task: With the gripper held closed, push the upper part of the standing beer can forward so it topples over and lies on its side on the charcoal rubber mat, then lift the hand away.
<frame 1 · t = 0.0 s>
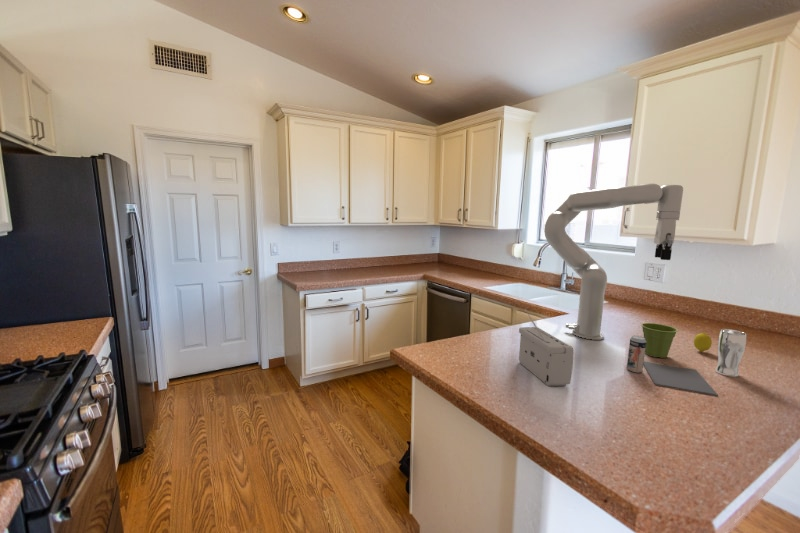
hand: (662, 258, 148), 37 cm above the table, tool pointing down, fingers open, 9 cm apart
beer can: (634, 371, 126), on the table
rubber mat: (676, 377, 121), on the table
stereo radio cassette player: (541, 374, 122), on the table
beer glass: (726, 373, 126), on the table
lemon: (701, 352, 147), on the table
plant pot: (655, 355, 142), on the table
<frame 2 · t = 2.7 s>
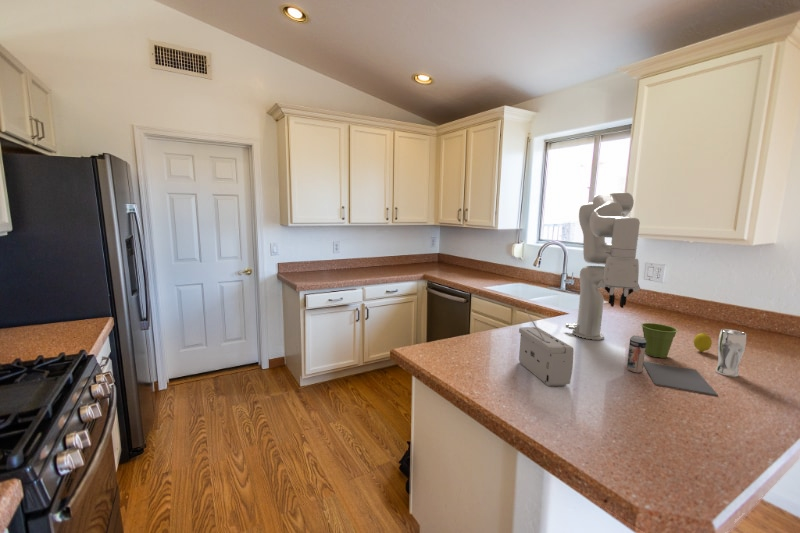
hand: (616, 305, 126), 22 cm above the table, tool pointing down, fingers closed
nothing on the table moved.
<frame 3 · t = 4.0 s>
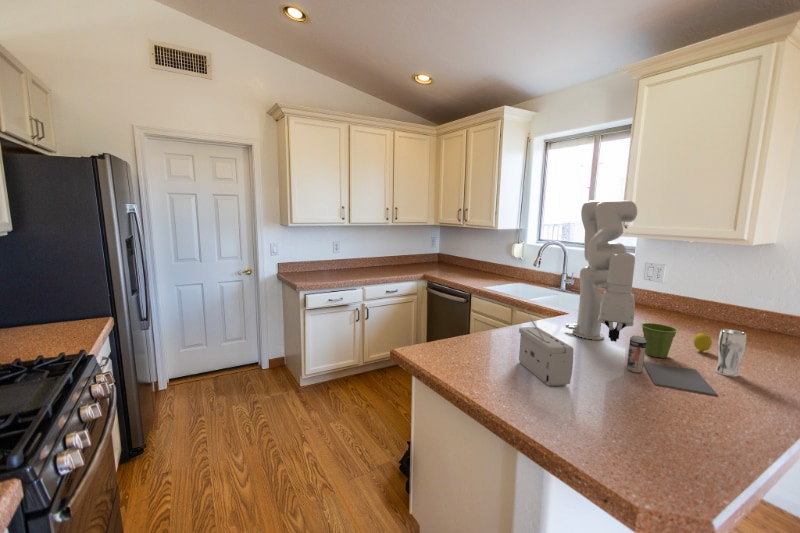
hand: (613, 340, 127), 10 cm above the table, tool pointing down, fingers closed
nothing on the table moved.
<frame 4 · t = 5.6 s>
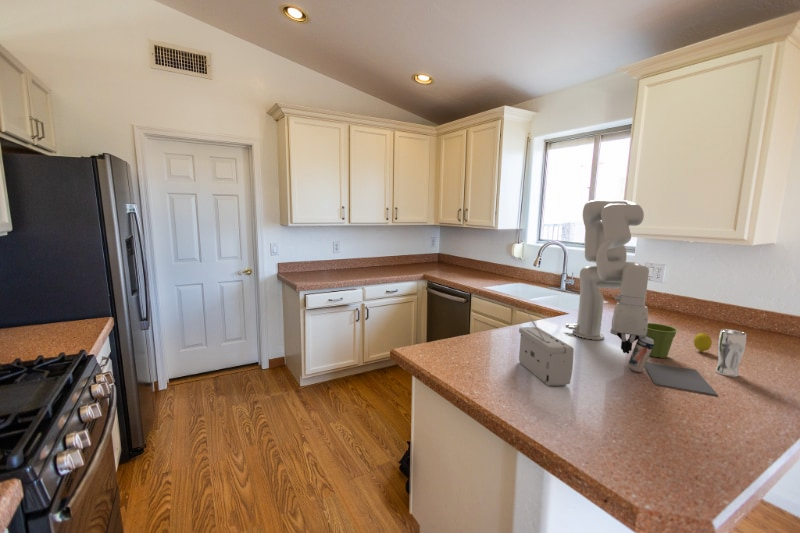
hand: (625, 351, 127), 6 cm above the table, tool pointing down, fingers closed
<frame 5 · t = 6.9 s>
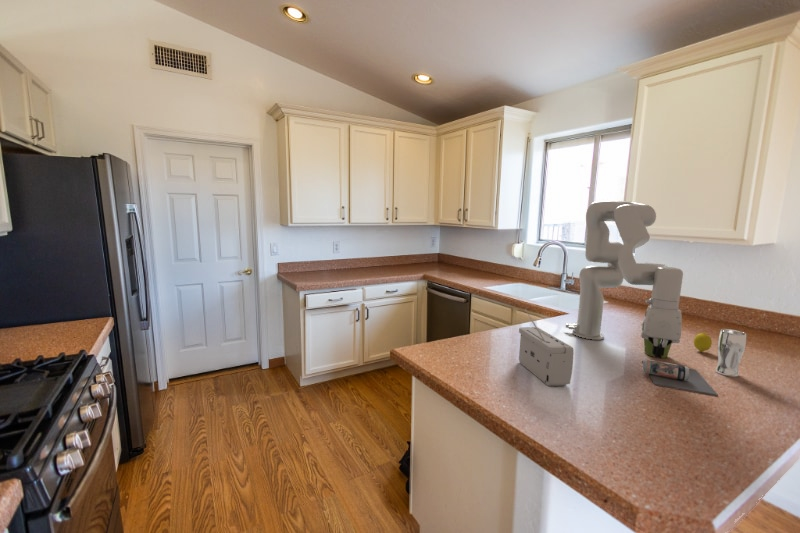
hand: (657, 356, 123), 6 cm above the table, tool pointing down, fingers closed
beer can: (642, 365, 123), point 3 cm above the table, touching rubber mat
everything else where it was.
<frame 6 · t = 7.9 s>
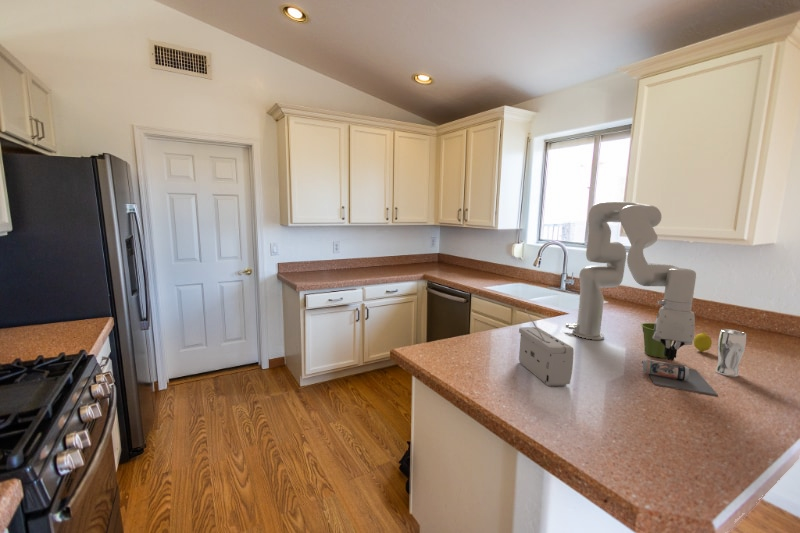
hand: (669, 358, 122), 6 cm above the table, tool pointing down, fingers closed
nothing on the table moved.
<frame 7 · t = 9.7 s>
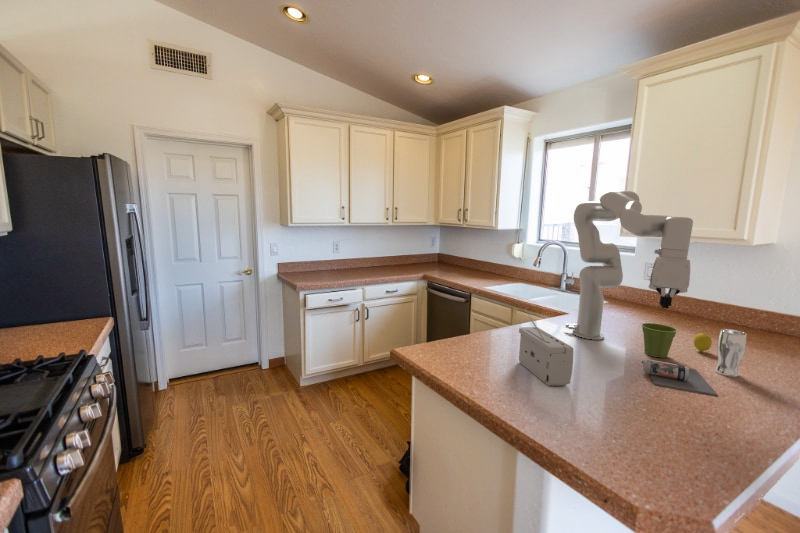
hand: (664, 307, 124), 23 cm above the table, tool pointing down, fingers closed
nothing on the table moved.
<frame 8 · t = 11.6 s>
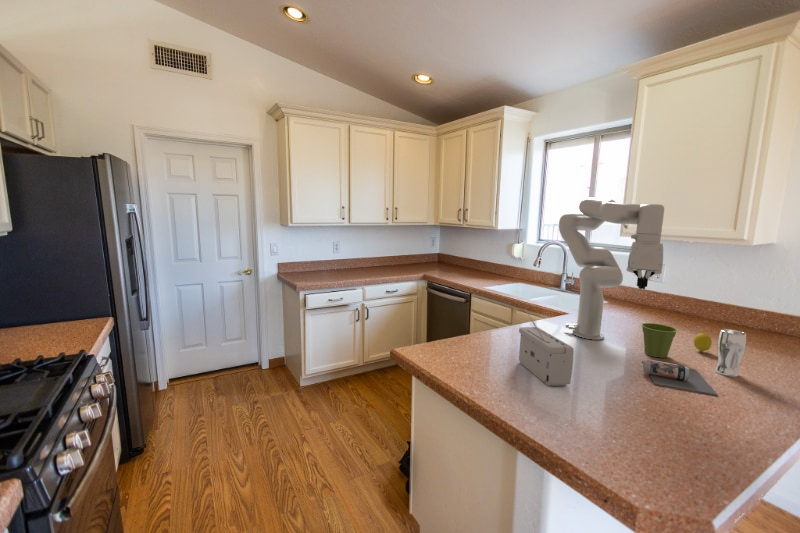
hand: (641, 288, 134), 27 cm above the table, tool pointing down, fingers closed
nothing on the table moved.
at the end: beer can tilted 90°; beer can touching rubber mat; beer can inside the target area on the rubber mat (8.2 cm from its centre), point 2.9 cm above the rubber mat's base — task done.
